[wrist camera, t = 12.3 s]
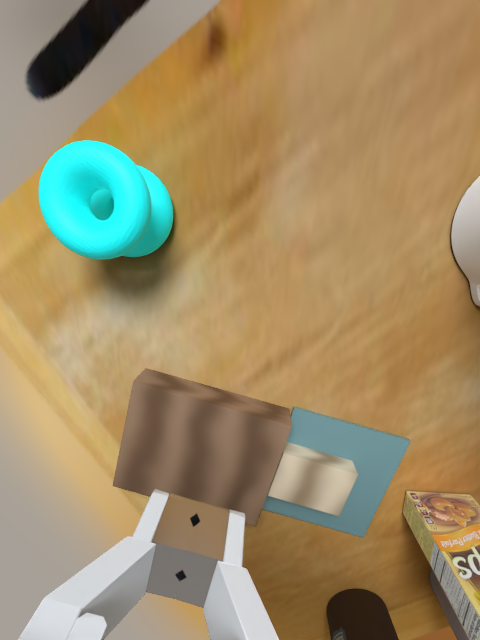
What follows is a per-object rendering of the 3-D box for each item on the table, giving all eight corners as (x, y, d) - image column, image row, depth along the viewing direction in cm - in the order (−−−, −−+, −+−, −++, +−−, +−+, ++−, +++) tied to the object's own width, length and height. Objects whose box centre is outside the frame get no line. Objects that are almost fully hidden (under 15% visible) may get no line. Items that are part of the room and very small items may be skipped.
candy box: (470, 492, 41) (590, 632, 26) (465, 517, 42) (577, 665, 27) (404, 489, 41) (485, 624, 27) (400, 513, 42) (476, 657, 28)
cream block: (352, 460, 40) (358, 474, 38) (334, 500, 42) (339, 516, 40) (282, 440, 40) (283, 453, 38) (267, 481, 42) (267, 495, 40)
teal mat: (408, 439, 39) (410, 441, 39) (361, 534, 44) (363, 537, 43) (293, 406, 39) (294, 408, 39) (258, 505, 44) (258, 507, 43)
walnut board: (288, 408, 40) (292, 426, 36) (255, 501, 44) (255, 526, 40) (145, 368, 40) (133, 381, 36) (125, 464, 44) (112, 485, 40)
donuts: (62, 107, 24) (166, 185, 24) (120, 148, 33) (192, 203, 34) (11, 214, 26) (107, 282, 27) (79, 223, 36) (148, 273, 36)
